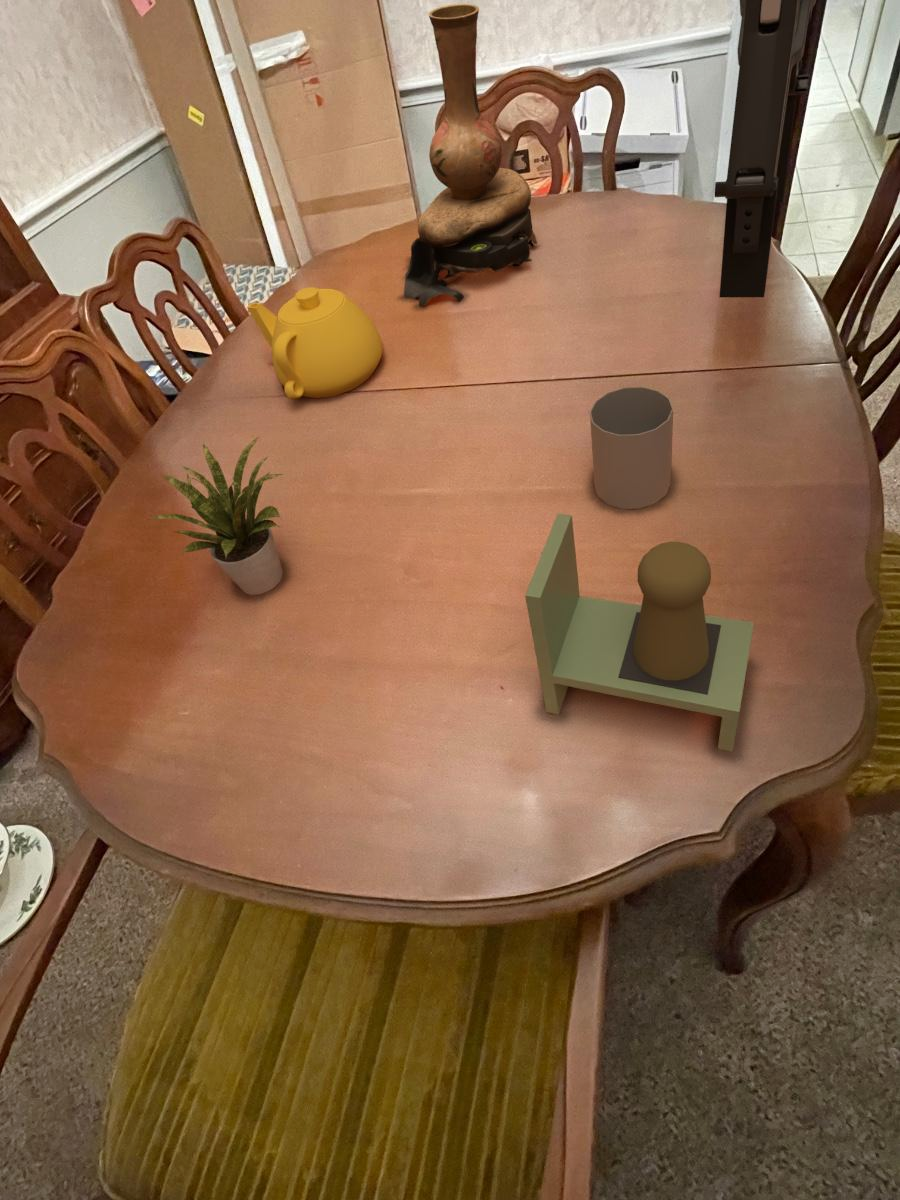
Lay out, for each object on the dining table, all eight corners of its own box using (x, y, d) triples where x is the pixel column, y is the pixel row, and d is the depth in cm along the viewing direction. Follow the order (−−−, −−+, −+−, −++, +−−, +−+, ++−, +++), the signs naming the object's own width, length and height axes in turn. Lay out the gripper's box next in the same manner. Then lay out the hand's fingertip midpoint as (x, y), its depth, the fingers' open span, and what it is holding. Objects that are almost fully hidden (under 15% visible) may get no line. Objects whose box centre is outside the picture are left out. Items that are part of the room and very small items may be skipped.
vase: (537, 290, 119) (508, 20, 93) (401, 310, 123) (336, 57, 97) (537, 225, 134) (511, -23, 108) (416, 245, 138) (363, 11, 112)
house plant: (337, 523, 91) (290, 410, 79) (324, 610, 82) (269, 497, 70) (226, 540, 93) (164, 432, 81) (202, 626, 84) (127, 519, 72)
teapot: (405, 346, 115) (384, 264, 106) (341, 420, 105) (311, 337, 96) (302, 335, 124) (274, 259, 114) (234, 403, 114) (197, 325, 105)
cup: (634, 519, 82) (633, 446, 74) (579, 488, 87) (573, 416, 79) (686, 478, 84) (690, 403, 77) (629, 451, 89) (628, 378, 82)
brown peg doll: (628, 625, 65) (626, 534, 57) (701, 618, 64) (710, 524, 56) (637, 683, 61) (636, 594, 53) (715, 677, 60) (726, 585, 52)
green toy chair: (746, 665, 67) (768, 536, 55) (732, 752, 62) (753, 631, 50) (571, 635, 73) (557, 513, 61) (546, 712, 68) (524, 595, 56)
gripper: (747, -203, 46) (721, 172, 61) (678, -119, 31) (667, 341, 47) (887, -236, 43) (822, 165, 58) (881, -160, 29) (798, 343, 44)
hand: (753, 244), depth 53 cm, fingers open, 13 cm apart
